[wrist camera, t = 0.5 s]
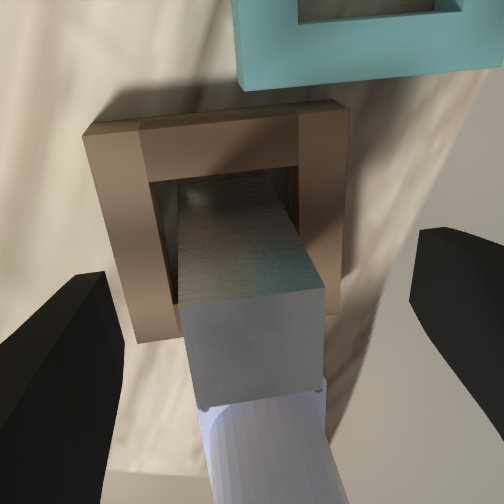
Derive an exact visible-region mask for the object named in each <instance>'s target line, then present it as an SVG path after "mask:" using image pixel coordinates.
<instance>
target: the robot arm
mask: <svg viewBox="0 0 504 504" xmlns="http://www.w3.org/2000/svg"><path fill="white" fill-rule="evenodd" d="M409 302H410V304H411V306H412V308H413V310H414V312H415V314H416V316H417V318H418V320H419V321H420V323H421V325H422V327H423V328H424V330H425V332H426V334H427V336H428V337H429V338H430V340H431V341H432V343H433V344H434V345H435V347H436V348H437V349H438V351H439V352H440V354H441V355H442V356H443V358H444V359H445V360H446V362H447V363H448V365H449V366H450V367H451V369H452V370H453V371H454V373H455V374H456V375H457V376H458V378H459V379H460V380H461V382H462V383H463V385H464V386H465V387H466V388H467V390H468V391H469V393H470V394H471V395H472V397H473V398H474V399H475V400H476V402H477V403H478V404H479V406H480V407H481V409H482V410H483V411H484V412H485V414H486V415H487V417H488V418H489V420H490V421H491V423H492V424H493V425H494V427H495V428H496V430H497V431H498V433H499V434H500V436H501V437H502V439H503V441H504V246H503V245H500V244H497V243H495V242H492V241H489V240H486V239H483V238H480V237H478V236H475V235H472V234H469V233H466V232H462V231H459V230H455V229H452V228H447V227H440V228H432V229H424V230H420V233H419V238H418V245H417V252H416V258H415V265H414V271H413V278H412V285H411V291H410V298H409ZM124 349H125V342H124V338H123V335H122V331H121V328H120V324H119V320H118V317H117V313H116V310H115V306H114V303H113V299H112V296H111V292H110V288H109V285H108V281H107V278H106V274H105V271H101V272H93V273H86V274H78V275H75V276H74V277H73V278H71V279H70V280H69V281H68V282H67V283H66V284H65V285H63V286H62V287H61V288H60V289H59V290H58V291H57V292H56V293H55V294H54V295H53V296H52V297H51V298H50V299H49V300H48V301H47V302H46V303H45V304H44V305H43V306H41V307H40V308H39V309H38V310H37V311H36V312H35V313H34V314H33V315H32V316H31V317H30V318H29V319H28V320H27V321H25V322H24V323H23V324H22V325H21V326H20V327H19V328H18V329H17V330H16V331H15V332H14V333H13V334H11V335H10V336H9V337H8V338H7V339H6V340H4V341H3V342H2V343H1V344H0V504H100V499H101V493H102V487H103V481H104V476H105V471H106V466H107V460H108V455H109V450H110V445H111V440H112V435H113V430H114V425H115V420H116V415H117V410H118V404H119V399H120V394H121V388H122V382H123V368H124ZM326 390H327V381H326V378H325V376H324V375H323V388H322V389H319V390H313V391H307V392H301V393H295V394H289V395H283V396H277V397H271V398H265V399H259V400H253V401H247V402H241V403H235V404H229V405H223V406H217V407H211V408H205V409H199V410H198V408H197V403H196V409H197V414H198V419H199V424H200V429H201V434H202V440H203V445H204V450H205V455H206V460H207V465H208V471H209V476H210V480H211V486H212V488H213V501H214V504H349V501H348V498H347V496H346V492H345V490H344V487H343V484H342V481H341V478H340V475H339V473H338V469H337V466H336V463H335V461H334V458H333V455H332V452H331V449H330V446H329V443H328V440H327V437H326V434H325V417H326ZM195 401H196V400H195Z"/></svg>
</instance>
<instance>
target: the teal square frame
mask: <svg viewBox="0 0 504 504" xmlns="http://www.w3.org/2000/svg"><path fill="white" fill-rule="evenodd" d="M232 13H233V26H234V39H235V52H236V66H237V79H238V84H239V85H240V86H241V88H242V89H243V90H244V92H245V91H255V90H266V89H277V88H287V87H298V86H308V85H319V84H329V83H340V82H350V81H361V80H372V79H382V78H393V77H403V76H414V75H424V74H435V73H445V72H456V71H467V70H477V69H488V68H498V67H502V62H503V58H504V0H435V4H434V11H425V12H412V13H400V14H387V15H375V16H362V17H350V18H337V19H324V20H312V21H299V22H298V0H232Z"/></svg>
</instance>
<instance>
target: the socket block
mask: <svg viewBox="0 0 504 504" xmlns="http://www.w3.org/2000/svg"><path fill="white" fill-rule="evenodd" d="M349 111H350V109H348V108H347V107H345V106H344V105H342V104H340V103H339V102H337V101H335V100H334V99H330V100H320V101H310V102H300V103H290V104H280V105H269V106H259V107H249V108H239V109H229V110H219V111H209V112H198V113H188V114H178V115H168V116H158V117H148V118H137V119H127V120H117V121H107V122H97V123H91V124H90V126H89V127H88V128H87V130H86V131H85V133H84V134H83V135H82V139H83V142H84V146H85V150H86V154H87V157H88V161H89V165H90V169H91V172H92V176H93V180H94V183H95V187H96V191H97V195H98V198H99V202H100V206H101V210H102V213H103V217H104V221H105V225H106V228H107V232H108V236H109V239H110V243H111V247H112V251H113V254H114V258H115V262H116V266H117V269H118V273H119V277H120V281H121V284H122V288H123V292H124V295H125V299H126V303H127V307H128V310H129V314H130V318H131V322H132V325H133V329H134V333H135V337H136V340H137V344H140V343H146V342H153V341H160V340H166V339H173V338H180V337H184V335H183V330H182V325H181V319H180V314H179V309H178V280H175V281H173V278H172V272H171V267H170V262H169V257H168V251H167V246H166V241H165V236H164V231H163V225H162V220H161V215H160V210H159V204H158V199H157V194H156V189H155V183H154V181H163V180H172V179H181V178H190V177H199V176H208V175H216V174H225V173H234V172H243V171H252V170H261V169H269V168H278V167H287V166H288V177H289V218H290V220H291V222H292V224H293V226H294V228H295V230H296V231H297V233H298V235H299V237H300V239H301V241H302V243H303V245H304V247H305V249H306V251H307V253H308V254H309V256H310V258H311V260H312V262H313V264H314V266H315V268H316V270H317V272H318V274H319V275H320V277H321V279H322V281H323V283H324V285H325V287H326V292H325V316H327V315H334V314H339V302H340V283H341V264H342V244H343V225H344V206H345V187H346V168H347V149H348V130H349Z"/></svg>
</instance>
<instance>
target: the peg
mask: <svg viewBox="0 0 504 504" xmlns="http://www.w3.org/2000/svg"><path fill="white" fill-rule="evenodd" d="M325 292H326V287H325V285H324V283H323V281H322V279H321V277H320V275H319V274H318V272H317V270H316V268H315V266H314V264H313V262H312V260H311V258H310V256H309V254H308V253H307V251H306V249H305V247H304V245H303V243H302V241H301V239H300V237H299V235H298V233H297V231H296V230H295V228H294V226H293V224H292V222H291V220H290V218H289V216H288V214H287V212H286V210H285V209H284V207H283V205H282V203H281V201H280V199H279V197H278V195H277V193H276V191H275V189H274V187H273V186H272V184H271V182H270V180H269V178H268V176H267V174H265V175H256V176H247V177H239V178H230V179H221V180H212V181H204V182H195V183H186V184H178V309H179V314H180V319H181V325H182V330H183V335H184V340H185V346H186V351H187V356H188V361H189V366H190V372H191V377H192V382H193V387H194V393H195V398H196V403H197V408H198V410H199V409H205V408H211V407H217V406H223V405H229V404H235V403H241V402H247V401H253V400H259V399H265V398H271V397H277V396H283V395H289V394H295V393H301V392H307V391H313V390H319V389H322V388H323V356H324V324H325Z"/></svg>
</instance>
